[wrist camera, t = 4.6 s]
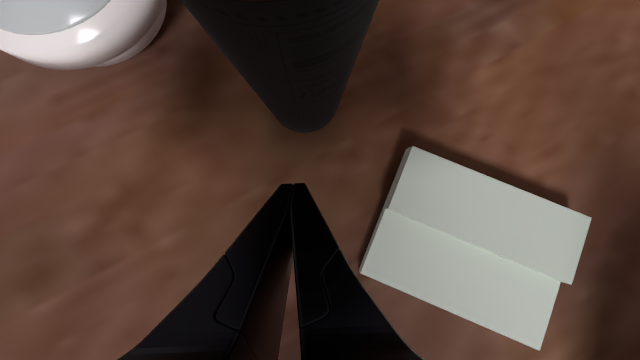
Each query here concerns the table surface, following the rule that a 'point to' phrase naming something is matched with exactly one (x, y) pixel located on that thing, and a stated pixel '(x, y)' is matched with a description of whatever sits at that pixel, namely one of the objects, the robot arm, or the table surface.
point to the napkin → (475, 246)
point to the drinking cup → (290, 50)
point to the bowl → (78, 31)
